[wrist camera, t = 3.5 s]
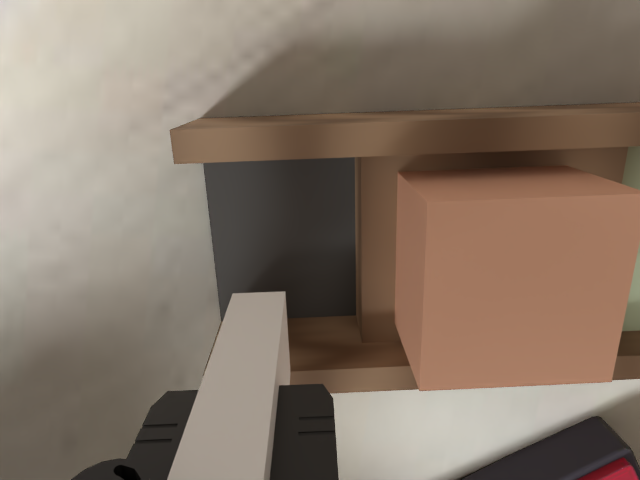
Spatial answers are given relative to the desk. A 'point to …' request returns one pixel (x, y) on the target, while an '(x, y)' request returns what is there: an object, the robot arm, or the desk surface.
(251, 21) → the desk surface
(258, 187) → the trap channel
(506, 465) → the calculator
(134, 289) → the desk surface
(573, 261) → the block
